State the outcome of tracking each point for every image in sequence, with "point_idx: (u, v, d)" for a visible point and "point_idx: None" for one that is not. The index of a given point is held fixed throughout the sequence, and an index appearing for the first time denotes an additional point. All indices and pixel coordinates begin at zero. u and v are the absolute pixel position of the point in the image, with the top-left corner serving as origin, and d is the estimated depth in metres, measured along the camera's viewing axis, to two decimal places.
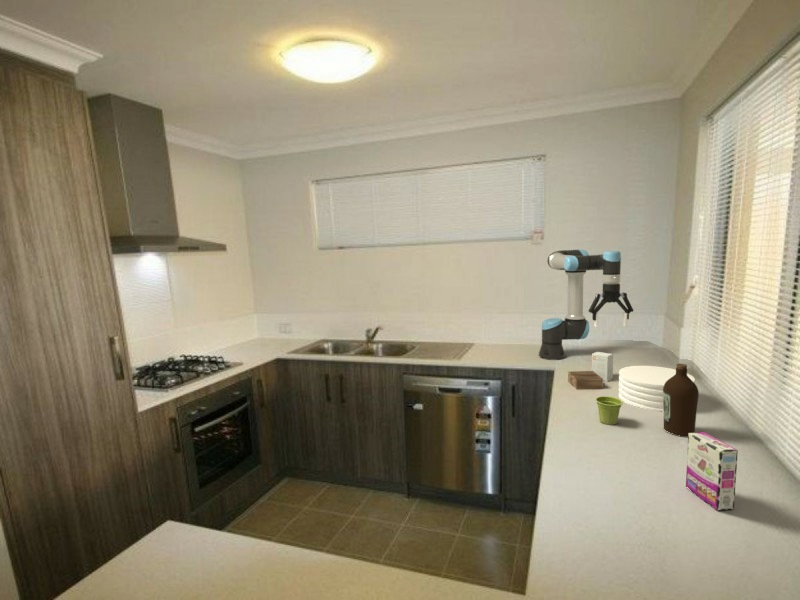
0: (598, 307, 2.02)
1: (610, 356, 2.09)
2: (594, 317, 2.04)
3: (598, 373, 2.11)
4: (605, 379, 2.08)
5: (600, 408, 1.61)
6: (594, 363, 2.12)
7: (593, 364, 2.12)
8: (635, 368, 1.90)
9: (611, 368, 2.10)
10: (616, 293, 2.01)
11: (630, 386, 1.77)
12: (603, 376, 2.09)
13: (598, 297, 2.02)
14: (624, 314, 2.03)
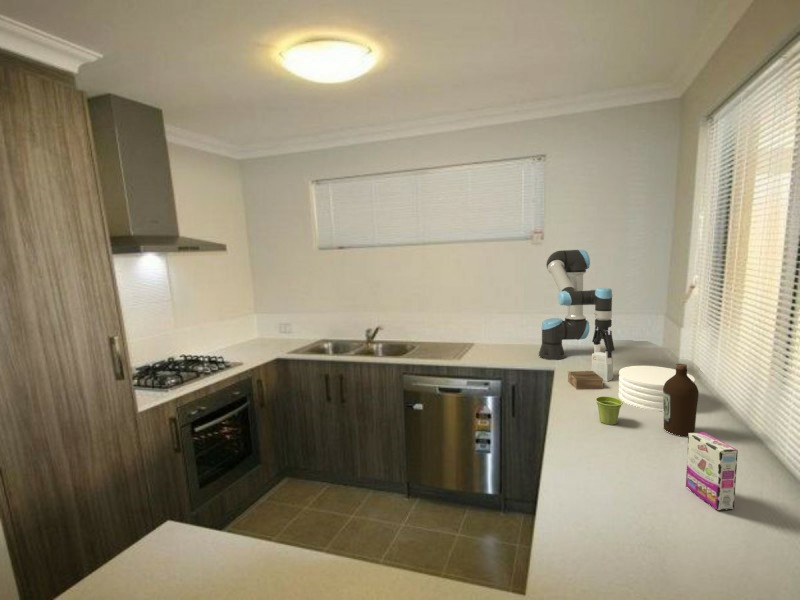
0: (595, 338, 2.17)
1: None
2: None
3: (598, 373, 2.11)
4: (605, 379, 2.08)
5: (600, 408, 1.61)
6: (594, 363, 2.12)
7: (593, 364, 2.12)
8: (635, 368, 1.90)
9: (611, 368, 2.10)
10: (602, 329, 2.08)
11: (630, 386, 1.77)
12: (603, 376, 2.09)
13: (595, 329, 2.16)
14: None
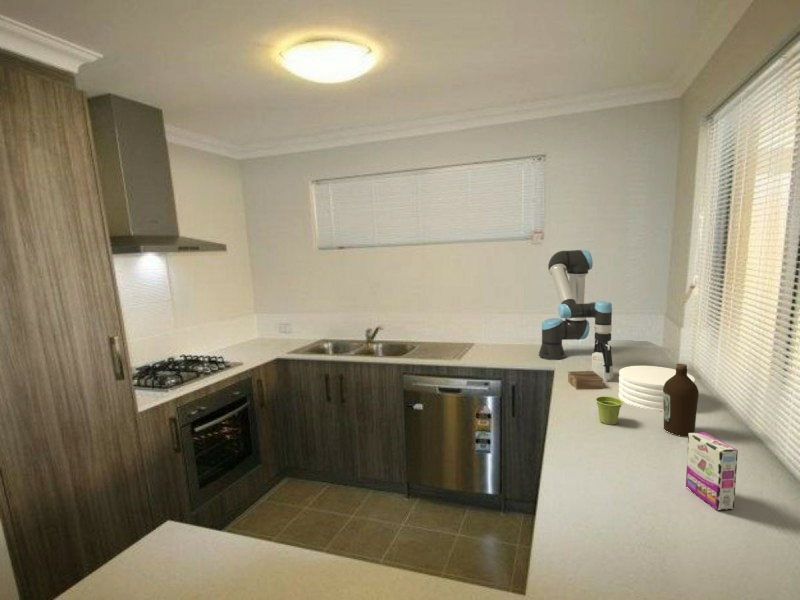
0: None
1: None
2: None
3: (598, 373, 2.11)
4: (605, 379, 2.08)
5: (600, 408, 1.61)
6: (594, 363, 2.12)
7: (593, 364, 2.12)
8: (635, 368, 1.90)
9: (611, 368, 2.10)
10: (602, 342, 2.08)
11: (630, 386, 1.77)
12: (603, 376, 2.09)
13: (595, 343, 2.17)
14: None
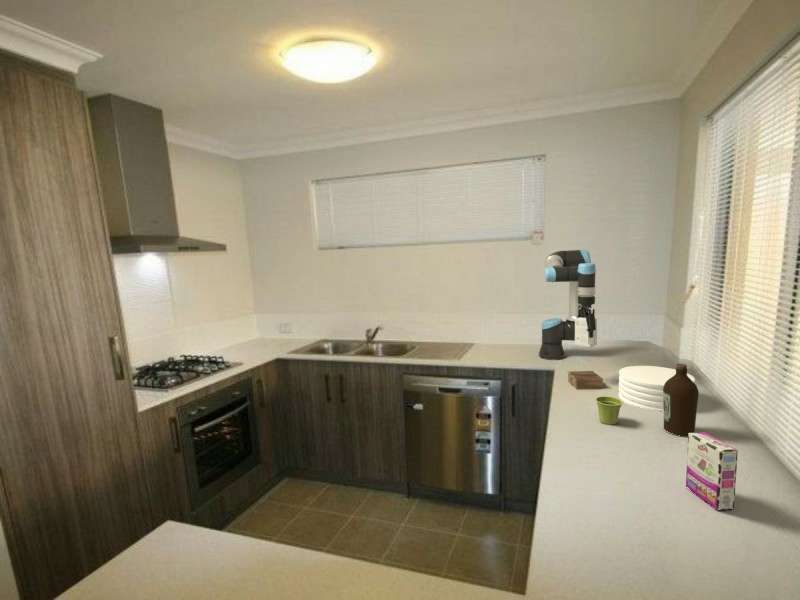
0: None
1: None
2: None
3: (581, 339, 2.00)
4: (589, 345, 1.98)
5: (600, 408, 1.61)
6: (577, 329, 2.01)
7: (576, 329, 2.02)
8: (635, 368, 1.90)
9: (595, 333, 1.99)
10: (585, 306, 1.98)
11: (630, 386, 1.77)
12: (586, 341, 1.98)
13: (578, 308, 2.06)
14: None
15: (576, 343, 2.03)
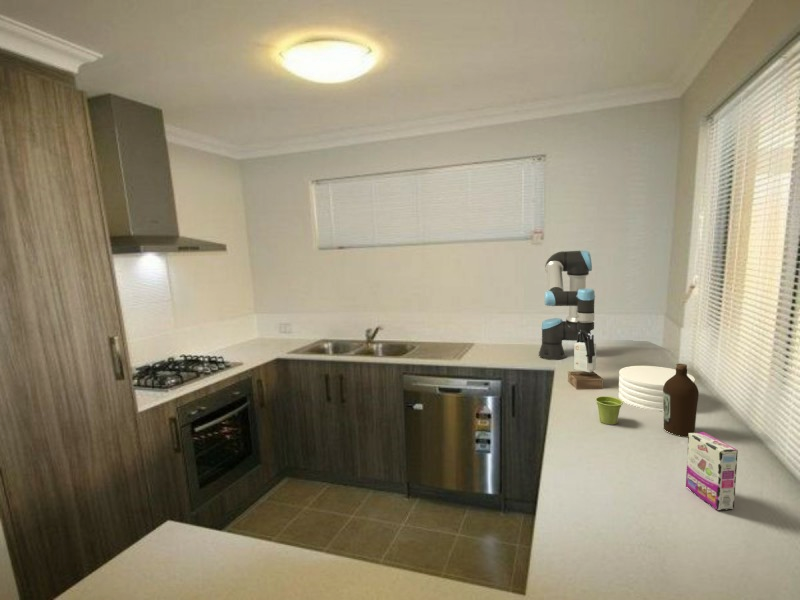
0: None
1: None
2: None
3: (581, 364, 2.02)
4: (588, 370, 1.99)
5: (600, 408, 1.61)
6: (576, 353, 2.03)
7: (575, 354, 2.03)
8: (635, 368, 1.90)
9: (594, 358, 2.01)
10: (584, 331, 1.99)
11: (630, 386, 1.77)
12: None
13: (578, 333, 2.08)
14: None
15: (575, 368, 2.04)
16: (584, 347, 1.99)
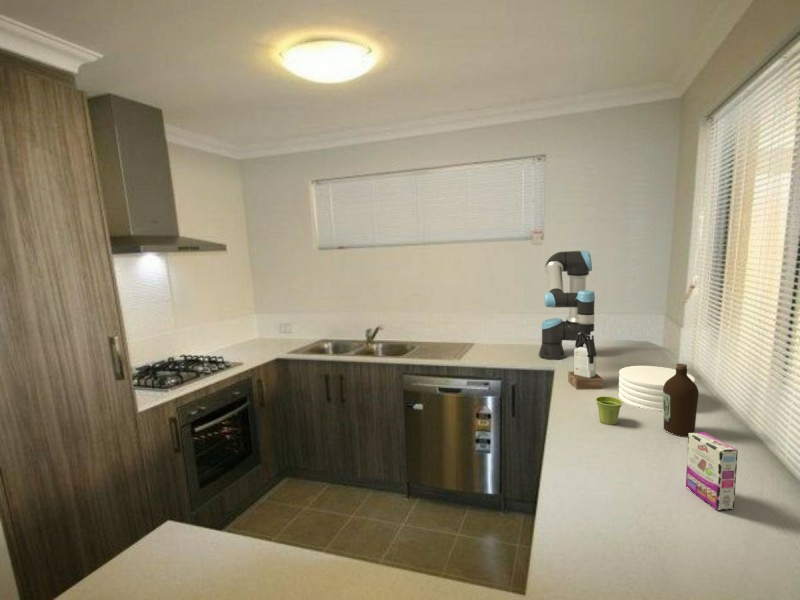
0: (578, 343, 2.09)
1: None
2: None
3: (581, 369, 2.02)
4: (588, 375, 2.00)
5: (600, 408, 1.61)
6: (576, 359, 2.03)
7: (575, 360, 2.04)
8: (635, 368, 1.90)
9: (594, 364, 2.01)
10: (584, 333, 2.00)
11: (630, 386, 1.77)
12: (586, 372, 2.00)
13: (577, 333, 2.08)
14: None
15: (575, 373, 2.04)
16: (584, 353, 2.00)
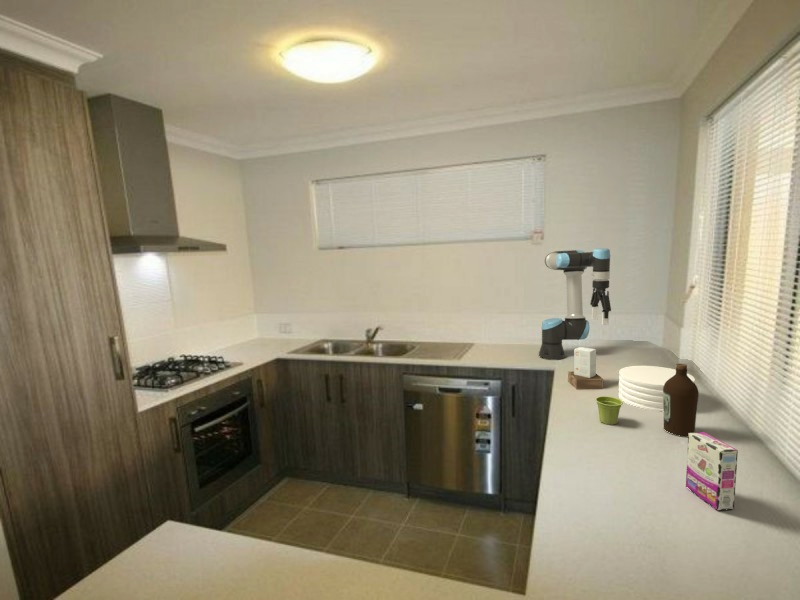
0: (593, 301, 2.15)
1: (593, 351, 2.00)
2: None
3: (581, 369, 2.02)
4: (588, 375, 2.00)
5: (600, 408, 1.61)
6: (576, 359, 2.03)
7: (575, 360, 2.04)
8: (635, 368, 1.90)
9: (594, 364, 2.01)
10: (599, 290, 2.06)
11: (630, 386, 1.77)
12: (586, 372, 2.00)
13: (593, 291, 2.14)
14: None
15: (575, 373, 2.04)
16: (584, 353, 2.00)
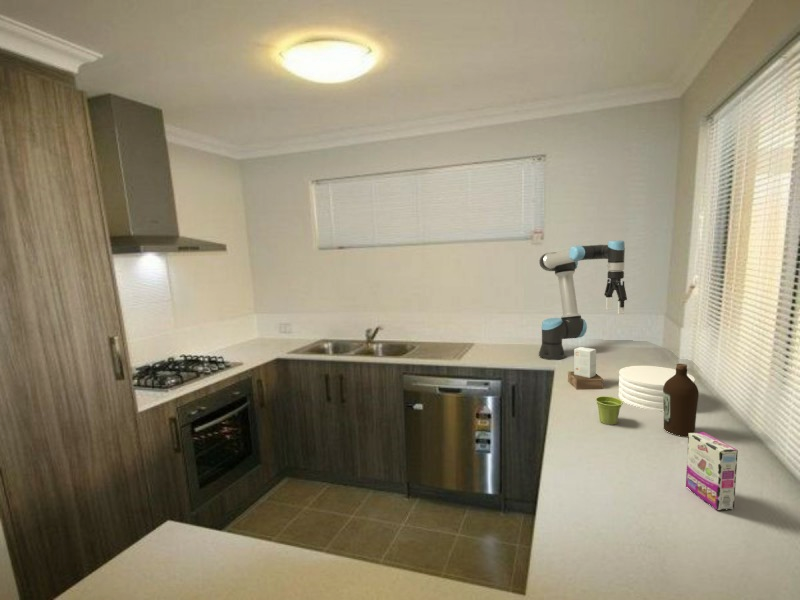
0: (607, 291, 2.23)
1: (593, 351, 2.00)
2: None
3: (581, 369, 2.02)
4: (588, 375, 2.00)
5: (600, 408, 1.61)
6: (576, 359, 2.03)
7: (575, 360, 2.04)
8: (635, 368, 1.90)
9: (594, 364, 2.01)
10: (615, 280, 2.14)
11: (630, 386, 1.77)
12: (586, 372, 2.00)
13: (607, 282, 2.23)
14: None
15: (575, 373, 2.04)
16: (584, 353, 2.00)
